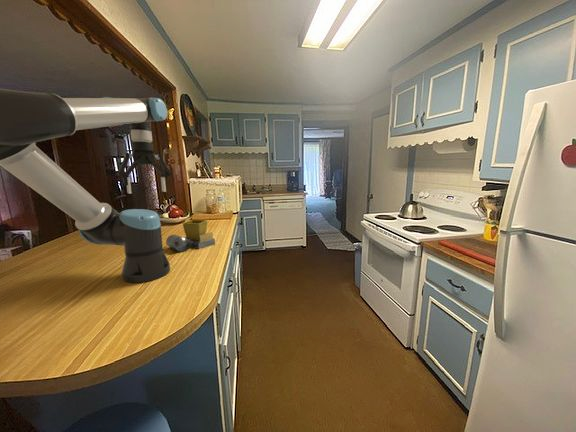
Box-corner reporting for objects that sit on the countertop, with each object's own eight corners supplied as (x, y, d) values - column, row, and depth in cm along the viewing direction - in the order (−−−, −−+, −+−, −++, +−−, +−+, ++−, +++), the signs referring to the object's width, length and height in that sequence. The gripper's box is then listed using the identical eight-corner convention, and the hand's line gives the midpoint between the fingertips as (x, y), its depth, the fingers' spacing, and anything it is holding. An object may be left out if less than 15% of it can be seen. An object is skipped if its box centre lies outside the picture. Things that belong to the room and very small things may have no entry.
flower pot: (193, 235, 124) (191, 219, 122) (208, 236, 123) (207, 219, 121) (183, 240, 115) (182, 223, 114) (200, 241, 114) (198, 223, 112)
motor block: (215, 244, 119) (214, 232, 118) (179, 254, 105) (177, 240, 104) (200, 239, 128) (199, 227, 127) (165, 248, 114) (163, 235, 113)
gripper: (169, 145, 110) (173, 190, 114) (103, 139, 91) (110, 193, 95) (176, 143, 105) (180, 191, 109) (108, 137, 87) (115, 194, 90)
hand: (147, 192), depth 102 cm, fingers open, 13 cm apart
